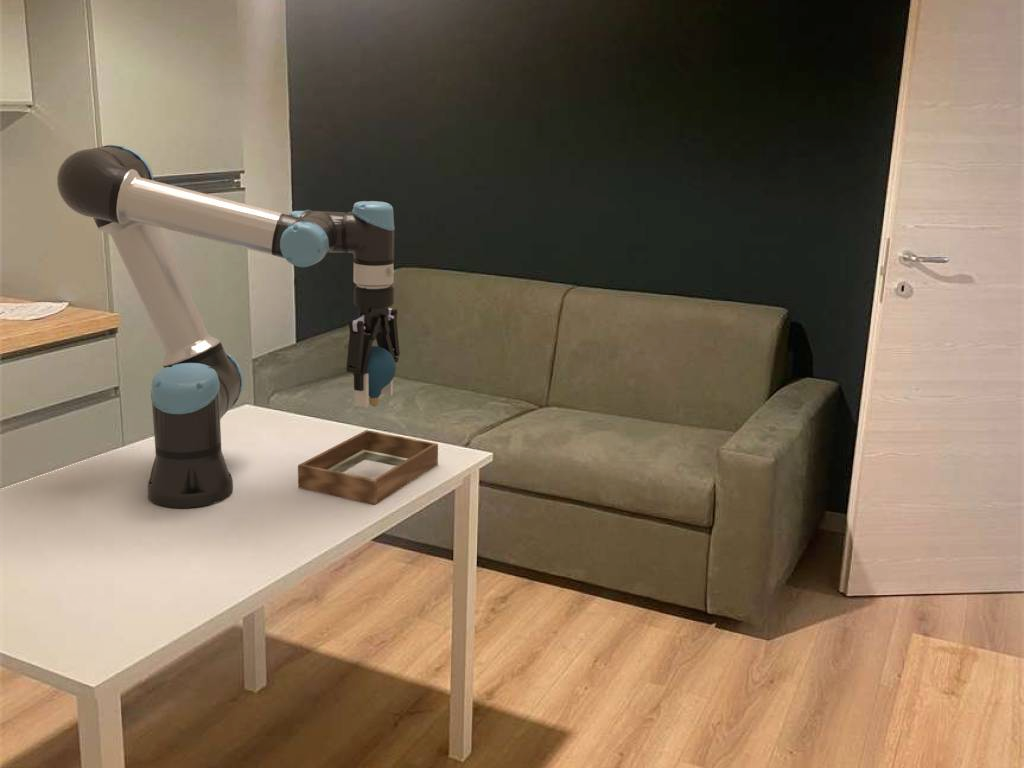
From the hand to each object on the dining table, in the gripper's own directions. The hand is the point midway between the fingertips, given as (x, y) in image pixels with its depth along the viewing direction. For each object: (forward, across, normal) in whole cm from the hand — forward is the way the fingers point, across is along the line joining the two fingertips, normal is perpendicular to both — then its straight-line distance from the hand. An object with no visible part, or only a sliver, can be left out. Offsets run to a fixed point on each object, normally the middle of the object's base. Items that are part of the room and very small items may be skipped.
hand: (373, 399), depth 205 cm
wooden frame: (+15, -2, 0) cm, 15 cm away
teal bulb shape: (+2, 0, 0) cm, 2 cm away
